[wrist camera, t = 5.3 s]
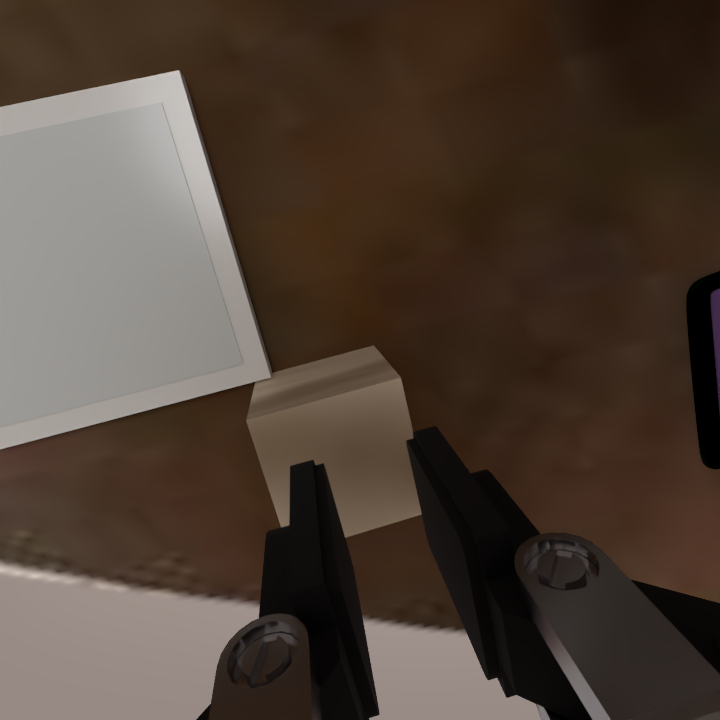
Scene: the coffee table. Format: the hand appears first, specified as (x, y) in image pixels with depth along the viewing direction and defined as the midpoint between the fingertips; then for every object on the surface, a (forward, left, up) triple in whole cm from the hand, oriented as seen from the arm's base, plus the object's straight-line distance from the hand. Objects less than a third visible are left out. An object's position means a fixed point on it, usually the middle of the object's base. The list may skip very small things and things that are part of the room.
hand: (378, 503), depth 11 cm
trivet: (-7, -9, -13) cm, 18 cm away
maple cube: (+3, -1, -7) cm, 8 cm away
